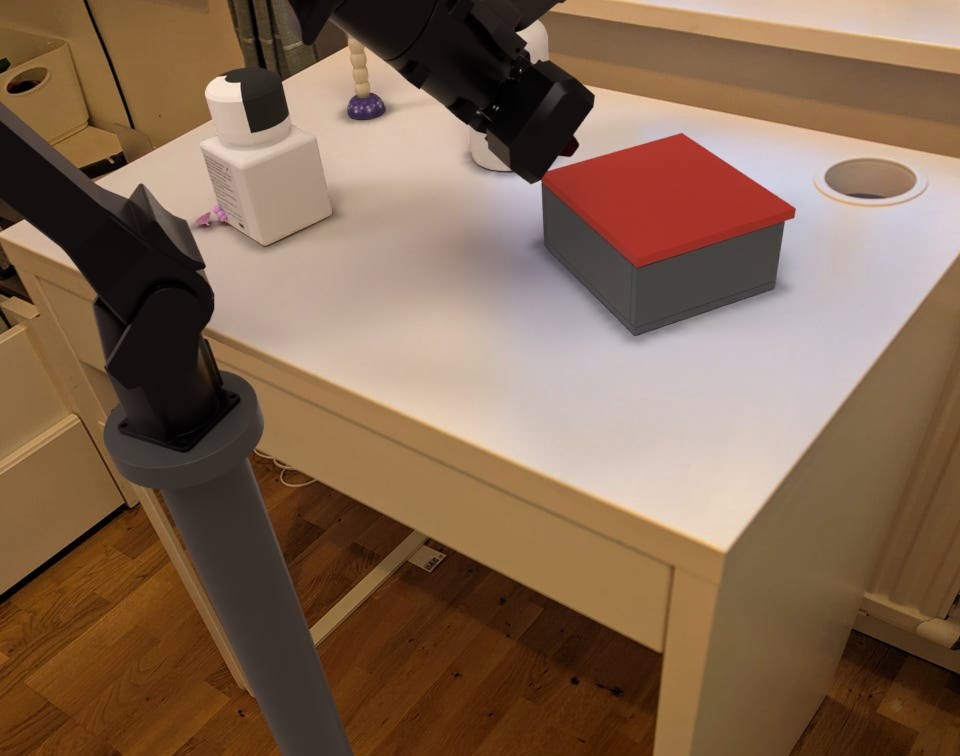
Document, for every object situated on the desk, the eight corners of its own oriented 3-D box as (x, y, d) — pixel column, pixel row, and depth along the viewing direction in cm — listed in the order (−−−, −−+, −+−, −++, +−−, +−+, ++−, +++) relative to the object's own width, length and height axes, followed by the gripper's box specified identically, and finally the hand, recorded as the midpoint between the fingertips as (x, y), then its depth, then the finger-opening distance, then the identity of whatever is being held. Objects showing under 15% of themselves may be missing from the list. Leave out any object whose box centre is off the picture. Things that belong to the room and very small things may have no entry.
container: (290, 190, 92) (255, 52, 83) (334, 215, 87) (303, 72, 78) (221, 221, 88) (178, 80, 79) (264, 248, 84) (223, 103, 75)
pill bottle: (495, 181, 89) (481, 13, 79) (458, 152, 94) (440, -10, 84) (567, 158, 91) (563, -9, 81) (526, 130, 97) (517, -30, 86)
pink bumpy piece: (211, 237, 89) (203, 239, 87) (200, 223, 89) (191, 224, 87) (233, 217, 88) (225, 218, 86) (222, 203, 88) (214, 204, 86)
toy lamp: (395, 104, 104) (370, -64, 93) (380, 122, 101) (352, -50, 90) (356, 103, 106) (326, -64, 94) (340, 120, 103) (307, -50, 91)
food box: (669, 206, 83) (673, 144, 79) (775, 288, 72) (785, 221, 68) (543, 245, 80) (540, 182, 76) (634, 336, 70) (636, 268, 66)
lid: (681, 141, 79) (682, 132, 78) (794, 218, 69) (796, 208, 68) (540, 181, 76) (540, 172, 76) (636, 268, 66) (637, 258, 65)
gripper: (560, -78, 47) (725, 92, 58) (428, -138, 60) (583, 10, 70) (434, 114, 51) (609, 242, 61) (335, 20, 64) (494, 139, 74)
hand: (573, 149), depth 67 cm, fingers closed
